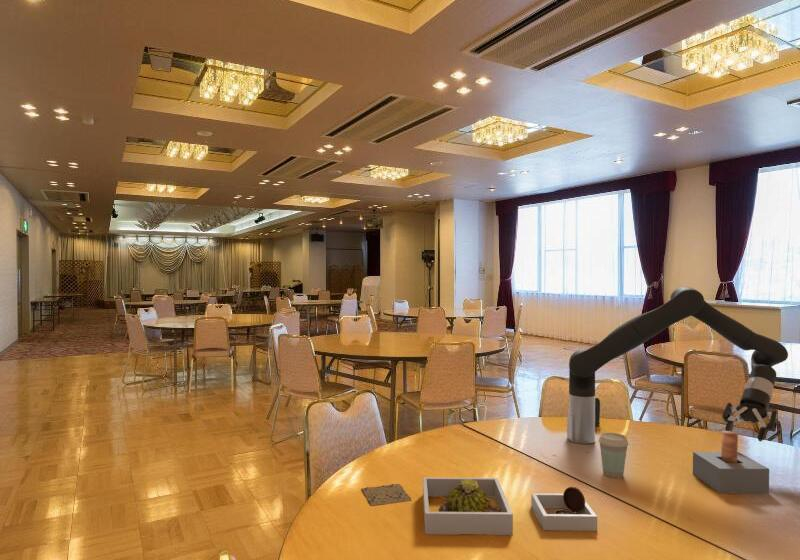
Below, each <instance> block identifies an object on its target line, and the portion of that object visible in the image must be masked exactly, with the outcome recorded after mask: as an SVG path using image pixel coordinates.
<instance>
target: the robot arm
mask: <svg viewBox="0 0 800 560" xmlns="http://www.w3.org/2000/svg"><path fill="white" fill-rule="evenodd" d="M688 317H693V318H695V319H697V320H698V321H700V322H701V323H703V324H705V325H707V326H708V327H709V328H711V329H712V330H713V331H715V332H716V333H718V335H721V336H722V337H723V338H724V339H725V340H727V341H729V342H730V343H732V344H733V345H734V346H736V347H737V348H739V349H741V350H743V351H753V352H752V354H751V357H750V360H751V361H750V367H751V371H750V373H749V377H748V379H747V382H746V383H745V386H744V388H743V390H742V395H741V397H740V401H739V404H738V405H733V404H732V403H731V402H727V403H726V406H725V409H723V410H724V411H723V413H722V415H721V417H722V419H723V421H724V422H725V423H726V425H725V430H724V431H732V432H733V429H734V426H735V424H736V423H740V422H742V421H744V422H750V423H752V424H753V423H754V424H756V423H758V424H759V426H760V427H759V432H758V435H757V441H759V442H763V441H765V440H766V437H767V433H768V432H773V433H774V432H776V430H777V426H778V420H779V415H778V413H777V411H776V410H772V411H768V409H769V407H770V402H771V401H772V400H771V399H772V398H773V393H774V392H773V391H774V387H775V382H776V379H777V371H776V370H775V368H773V366H776V365H778V364H781V363H784V362H785V361H787V359H788V357H789V351H788V350H787V348H786V347H785V345H783V344H782V343H780V342H779V341H777V340H775V339H773V338H771V337H767V336H764V335H763V334H759V333H756V332H755V331H753V330H752V329H750V328H749V327H747V326H745V325H744V324H742V323H741V322H739V321H737V320H736V319H734V318H733V317H730V316H729V315H727V314H725V313H723V312H721V311H720V310H718V309H716V308H715V307H714V306H712V305H710V303H708V302H707V301H706V300H705V298H704V296H703V293H701V291H699V290H697V289H695V288H692V287H690V286H689V287H688V286H681V287H678V288H676V289H675V290H673V291H672V293H671V294H670V300H668V301H666V302H665V303H664V304H663V305H660V306H659V307H657V308H655V309H652V310H650V311H647V312H645V313H642V314H639V315H637V316H635V317H632V318H631V319H629V320H628V321H626V322H624V323H622V324H621V325H620V326H618V327H616V328H615V329H613V331H612V332H610V333H609V334H608V335H606V336H605V338H603V339H602V340H601V341H600V342H598V343H597V344H595V345H593V346H592V347H589V348H588V349H586V350H583V349H581V350H577V351H574V352H573V353H572V354H571V356H570V358H569V362H568V368H569V369H568V373H569V374H568V375H569V378H568V380H569V381H568V412H567V413H566V438H567V439H568V440H569V441H570V442H571V443H575V444H583V445H584V444H586V445H587V444H593V443H595V442H596V425H595V397H596V372H597V371H599V369H601V368H602V367H604V366H605V365H607V364H608V363H609V362H611V361H612V360H615V359H616V358H619V357H621V356H623V355H624V354H627V353H628V352H630V351H633V350H634V349H636V348H638V347H639V346H642V345H643V344H645V343H646V342H647V341H649V340H651V339H653V338H654V337H656V336H657V335H658V334H660V333H662V332H663V331H664V330H666V329H667V328H669V327H670V326H672V325H674V324H676V323H679V322H680V321H683V320H684V319H687V318H688ZM735 411H736V412H735ZM732 414H733V415H732ZM767 417H768V418H769V424H766V422H765V421H764V419H766V418H767Z"/></svg>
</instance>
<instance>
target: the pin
mask: <svg viewBox="0 0 800 560" xmlns="http://www.w3.org/2000/svg"><path fill="white" fill-rule="evenodd" d="M738 436H739V434H738V432H735V431H733V430H732V431H726V430H721V451H720V452H721V460H722V461H723V462H725V463H737V452H738V440H739V437H738Z"/></svg>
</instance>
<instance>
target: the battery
mask: <svg viewBox="0 0 800 560" xmlns="http://www.w3.org/2000/svg"><path fill="white" fill-rule="evenodd" d="M600 416H601V400H600V398H599V397H597V396H595V426H599V425H600V418H601V417H600Z"/></svg>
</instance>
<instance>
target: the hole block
mask: <svg viewBox="0 0 800 560" xmlns="http://www.w3.org/2000/svg"><path fill="white" fill-rule="evenodd" d="M721 452H722V451H692V475H694V476H695V477H696V478H698V479H699V480H701V481H702V482H704V483H705V484H706V485H707V486H709V487H711V488H712V489H713V490H714V491H716V492H717V493H718V494H770V468H769V467H767V466H765V465H763V464H761V463H759V462H757V461H756V460H753V459H752V458H750V457H749V456H746V455H745V454H743V453H741V452H739V451H737V463H725V462H723V461H722V460H721Z"/></svg>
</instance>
